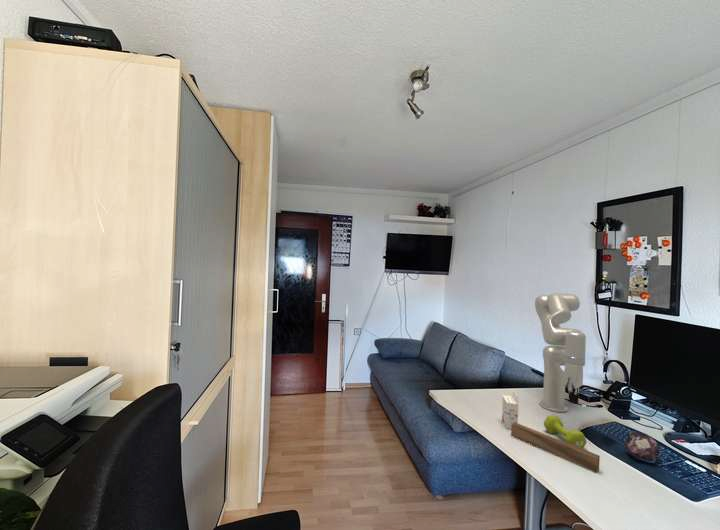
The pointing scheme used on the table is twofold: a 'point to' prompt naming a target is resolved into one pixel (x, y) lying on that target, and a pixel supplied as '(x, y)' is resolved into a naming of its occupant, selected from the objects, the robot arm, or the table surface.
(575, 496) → the table surface
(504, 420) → the ink cartridge box
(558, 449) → the walnut board
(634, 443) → the mineral specimen
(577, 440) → the dumbbell
